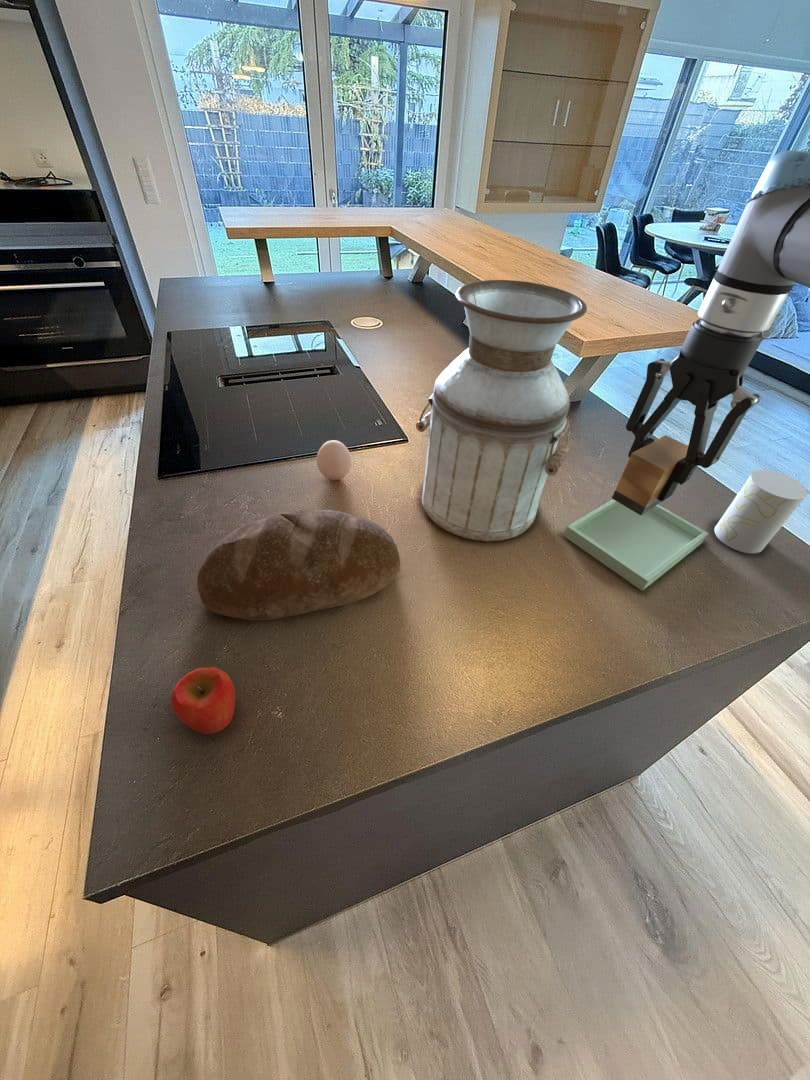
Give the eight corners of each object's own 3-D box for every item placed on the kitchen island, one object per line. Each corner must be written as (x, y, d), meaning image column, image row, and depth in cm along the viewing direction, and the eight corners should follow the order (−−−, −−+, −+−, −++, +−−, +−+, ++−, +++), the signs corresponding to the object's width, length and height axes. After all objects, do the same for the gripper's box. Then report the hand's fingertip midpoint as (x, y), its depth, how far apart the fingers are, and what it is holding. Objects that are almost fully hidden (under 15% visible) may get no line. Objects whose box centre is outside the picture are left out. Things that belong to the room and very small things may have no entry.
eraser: (672, 494, 71) (697, 450, 66) (640, 515, 67) (665, 470, 61) (643, 478, 74) (665, 434, 68) (611, 498, 70) (631, 452, 64)
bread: (204, 562, 72) (184, 506, 65) (384, 532, 80) (385, 478, 72) (203, 644, 62) (179, 588, 54) (411, 601, 69) (417, 546, 61)
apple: (228, 684, 58) (214, 650, 52) (252, 721, 54) (239, 689, 49) (178, 715, 54) (158, 682, 49) (199, 756, 51) (180, 725, 46)
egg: (313, 471, 92) (310, 436, 86) (345, 464, 94) (344, 430, 89) (324, 490, 88) (321, 454, 82) (357, 482, 90) (356, 447, 84)
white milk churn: (558, 496, 90) (628, 297, 65) (521, 563, 76) (593, 341, 51) (444, 456, 98) (469, 266, 74) (392, 510, 84) (402, 297, 60)
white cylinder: (704, 524, 86) (740, 471, 78) (742, 521, 87) (780, 468, 79) (735, 555, 80) (776, 501, 72) (774, 551, 81) (819, 497, 73)
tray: (702, 542, 82) (708, 533, 80) (642, 591, 73) (648, 581, 71) (625, 497, 91) (630, 488, 89) (563, 535, 81) (567, 526, 80)
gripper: (642, 308, 57) (582, 466, 72) (802, 359, 47) (692, 530, 62) (673, 299, 60) (609, 452, 76) (828, 345, 50) (717, 510, 66)
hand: (647, 487), depth 69 cm, fingers closed on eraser, 5 cm apart
